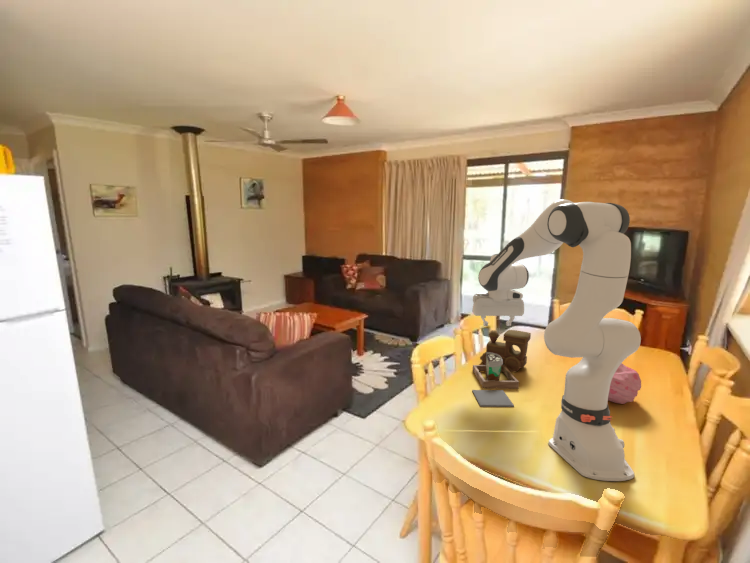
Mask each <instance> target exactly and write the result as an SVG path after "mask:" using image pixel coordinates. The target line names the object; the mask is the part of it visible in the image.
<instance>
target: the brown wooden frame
mask: <svg viewBox="0 0 750 563" xmlns="http://www.w3.org/2000/svg"><path fill="white" fill-rule="evenodd" d="M479 371H486V365H485V364H473V365H472V372H473V374H474V373H475V374H474V376H475V375H476V376H475V378H476V379H477V380H479V381H478V382H479V384H480V386H481V385H482V386H481V388H482V389H483V388H486V389H485V390H505V389H507V390H516V389H517V390H518V389H519V387H520V381H519V380H518V379H517V378H516V377H515V376H514V375H513V372H512V371H509V370H508V369H507V367H506V366H505V365H504V364H502V365H501V370H500V373H503V374H504V376H505V377H506V378H507V379H508V380H499V381H490V380H487V379H485V378H484V376H483V374H482V372H479Z"/></svg>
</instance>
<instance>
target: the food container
mask: <svg viewBox="0 0 750 563" xmlns="http://www.w3.org/2000/svg"><path fill="white" fill-rule="evenodd" d="M501 365H504V364H503V360H502V357H501V356H500V355H498V354H495V353H490V352H487V353H486V372H485V375H486V377H487V378H486V380H490V381H500V377H501V372H500V370H501Z"/></svg>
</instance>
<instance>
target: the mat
mask: <svg viewBox="0 0 750 563" xmlns="http://www.w3.org/2000/svg"><path fill="white" fill-rule="evenodd" d="M471 392H472V394H473V393H474V394H473V395H474V397H476V398H475V400H476V401H477V403H478V405H479V407H482V408H485V407H486V408H489V407H491V408H495V407H496V408H514V407H515V404H514V403H513V402H512V400H511V399H510V397H509V396H508V395H507V393H506V392H505V391H504V389H472V390H471Z"/></svg>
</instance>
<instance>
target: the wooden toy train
mask: <svg viewBox="0 0 750 563" xmlns="http://www.w3.org/2000/svg"><path fill="white" fill-rule="evenodd" d="M531 335H532V333H531V332H528V331H523V330H516V329H508V330H506V331H505V332H504V334H503V337H502V338H503V341H502V342H501V341H497V340H498V338H499V337H500V335H499V333H498V331H497V330H494V329H493V330H492V329H491V331H490V332H488V337H489V339H490V340H489V341H488V342H487V343H486V349H485V352H483V353H482V354H481V356H480V357H479V360H480V361H481V362H482V363H483V365H486V353H487V352H490V353H495V354H498V355H500V356H501V357H502V360H503V364H502V365H505V366H506V367H507V369H508V370H509V371H510V372H511V373H513V372H514V373H515V372H518V371H519V370H520V369H524V368H525V366H526V365H527V363H528V362H527V361H528V356H527V352H528V348H529V347H528V346H529V342H530V340H531ZM514 346H516V347H518V348H519V350H516V349H515V348H514Z"/></svg>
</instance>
